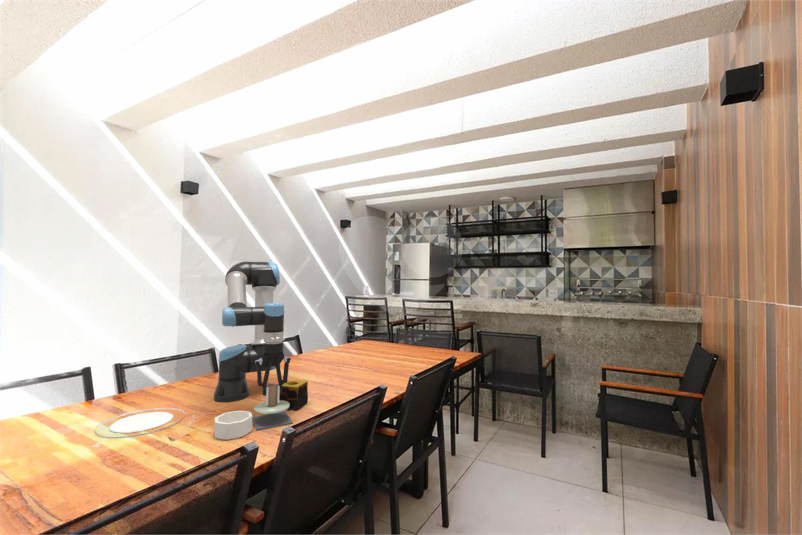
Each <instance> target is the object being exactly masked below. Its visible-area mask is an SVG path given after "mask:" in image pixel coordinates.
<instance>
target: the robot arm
mask: <svg viewBox="0 0 802 535" xmlns="http://www.w3.org/2000/svg"><path fill="white" fill-rule="evenodd" d="M224 282H225V285H226V286H227V307H224V308H222V310H221V311H222V317H221V319H222V320H221V325H222V326H223V327H233V328H234V327H243V326H244V327H247V326H254V340H253V342H252V343H251V344H250V347H248V346H247V345H246V344H237V345H232V346H228V347H225V348H223V349H221V350H220V351H219V353H218V354H219V356H218V381H217V385H216V388H215V389H214V392H213V400H214V401H215V402H221V403H222V402H223V403H226V402H227V403H229V402H230V403H231V402H236V401H240V400H244V399H245V398H248V397H249V396H250V388H249V385H248V382H247V379H246V378H247V377H246V376H247V374H248V373H249V374H250V373H256V378H257V381H256V382H257V386H258V387H262V395H263V396H264V402H265V403H266V405H268V399H269V387H268V381H269V376H270V372H271V371H274V370H275V372H276V377H277V378H276V379H277V383H276V384H277V403H279V393H282V385H283V384H284V383H287V380H289V369H290V368H289V366H290V362H291V360H292V358H290V357H289V356H285V354H284V335H285V334H284V330H285V328H284V327H285V325H284V324H285V323H284V322H285V305H284V303H281V302H274V291H275V290H276V289H277V286H279V285H280V282H281V279H280V271H279V266H278V265H277V263H275V262H270V261H269V262H268V261H241V262H238V263H236V264H234V265H232V267H230V268H229V269H228V271H227V272H226V274H225V279H224ZM247 285H248V286H250V285H251V290H253V291H254V306H248V301H247V290H246V289H247V288H246V286H247ZM282 362H284V364H283V375H282V372H281V363H282ZM262 372H264V376H263V377H262ZM262 378H263V380H262Z"/></svg>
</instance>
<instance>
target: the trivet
mask: <svg viewBox="0 0 802 535" xmlns="http://www.w3.org/2000/svg"><path fill="white" fill-rule="evenodd" d="M252 424H253V425H254V429H255V431H256V432H257V431H263V430H268V429H273V428H277V427H283V426H287V425H292V424H294V422H293V421H292V419H291V417H290V416H289V414H288V412H287V411H286V410H285V411H282V412H279V413H273V414H260V415H254V416H252Z"/></svg>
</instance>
